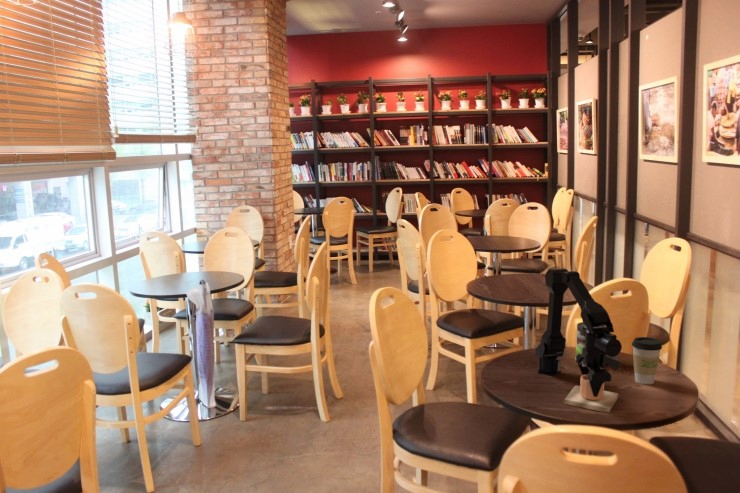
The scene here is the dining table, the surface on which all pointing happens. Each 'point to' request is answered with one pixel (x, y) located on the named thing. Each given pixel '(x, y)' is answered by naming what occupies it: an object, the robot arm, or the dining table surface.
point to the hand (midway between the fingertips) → (591, 392)
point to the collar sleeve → (589, 389)
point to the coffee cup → (646, 359)
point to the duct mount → (599, 405)
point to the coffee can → (581, 338)
